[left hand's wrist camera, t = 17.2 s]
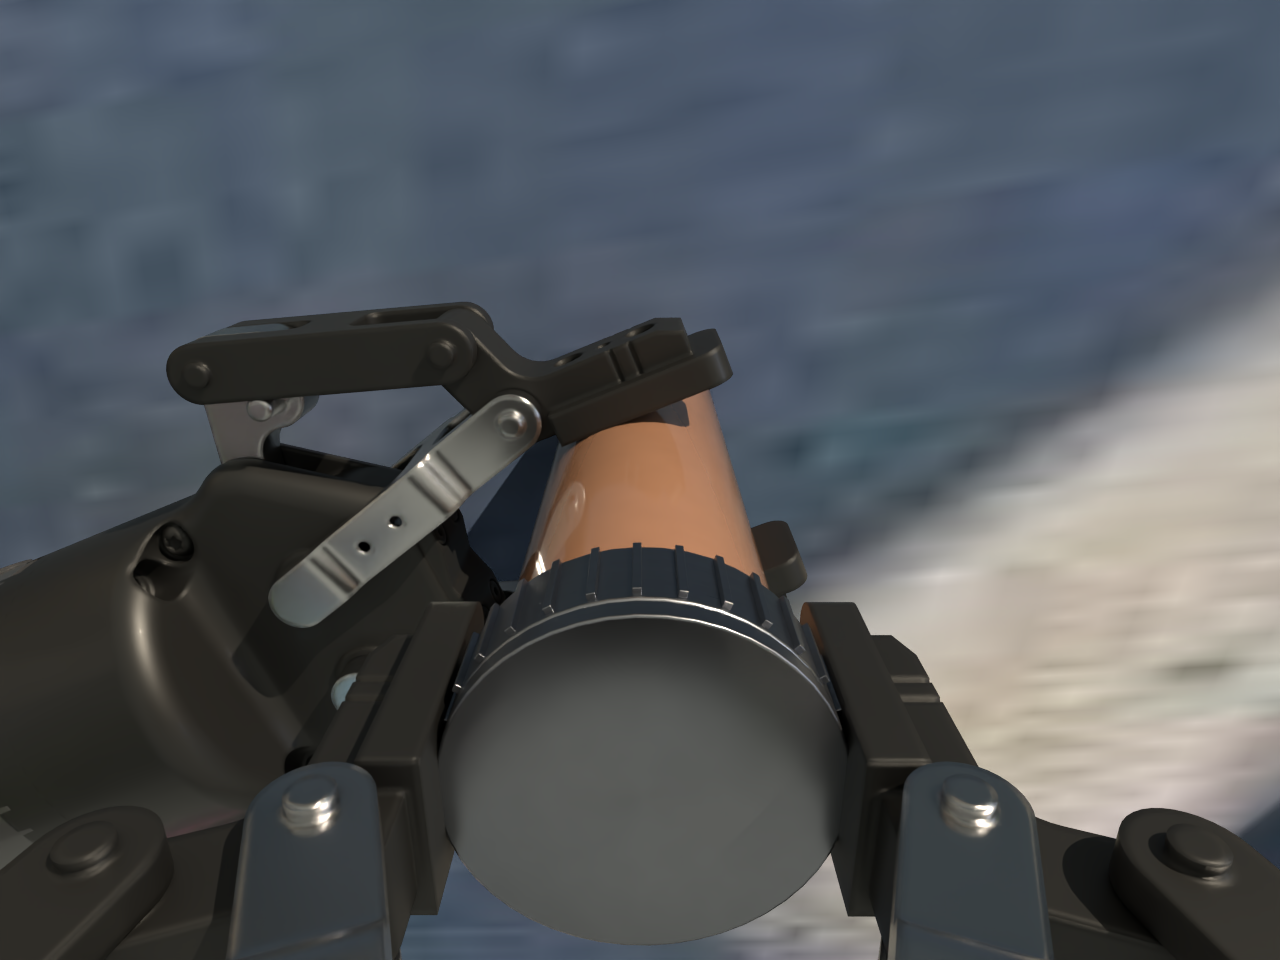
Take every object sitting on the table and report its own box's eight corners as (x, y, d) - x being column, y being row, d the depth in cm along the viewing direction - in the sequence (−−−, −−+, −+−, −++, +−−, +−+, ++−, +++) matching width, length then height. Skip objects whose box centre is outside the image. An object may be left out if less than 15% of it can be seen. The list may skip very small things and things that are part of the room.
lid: (890, 753, 12) (930, 849, 10) (588, 894, 12) (581, 1002, 11) (711, 468, 10) (725, 526, 8) (382, 654, 11) (338, 740, 9)
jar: (550, 446, 25) (429, 828, 11) (602, 317, 23) (544, 561, 9) (677, 496, 25) (724, 922, 11) (735, 374, 24) (874, 684, 10)
